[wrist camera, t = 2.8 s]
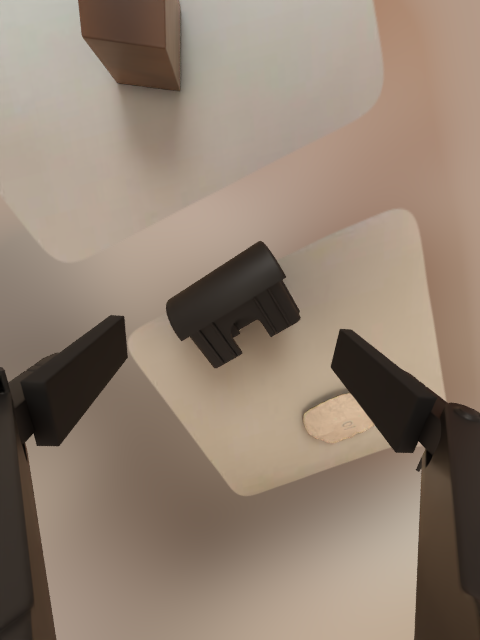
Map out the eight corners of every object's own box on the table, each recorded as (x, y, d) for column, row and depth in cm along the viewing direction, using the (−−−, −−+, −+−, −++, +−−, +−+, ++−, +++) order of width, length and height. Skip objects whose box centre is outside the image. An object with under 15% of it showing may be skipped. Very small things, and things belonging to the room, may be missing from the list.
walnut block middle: (180, 6, 18) (163, -73, 13) (180, 91, 20) (165, 48, 15) (110, -5, 18) (68, -90, 13) (116, 83, 19) (81, 36, 15)
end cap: (256, 238, 24) (266, 241, 18) (290, 297, 26) (309, 318, 20) (174, 291, 25) (156, 312, 19) (212, 343, 28) (208, 376, 21)
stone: (295, 405, 31) (299, 416, 29) (400, 363, 30) (412, 372, 28) (314, 446, 34) (319, 459, 32) (412, 409, 32) (423, 420, 30)
